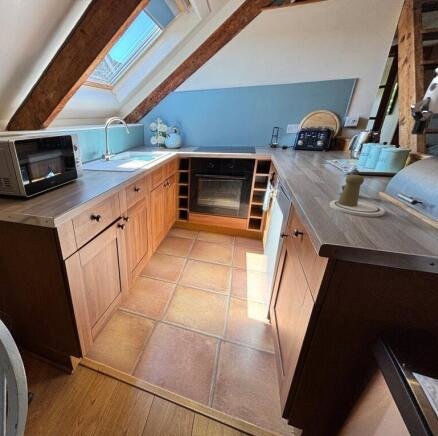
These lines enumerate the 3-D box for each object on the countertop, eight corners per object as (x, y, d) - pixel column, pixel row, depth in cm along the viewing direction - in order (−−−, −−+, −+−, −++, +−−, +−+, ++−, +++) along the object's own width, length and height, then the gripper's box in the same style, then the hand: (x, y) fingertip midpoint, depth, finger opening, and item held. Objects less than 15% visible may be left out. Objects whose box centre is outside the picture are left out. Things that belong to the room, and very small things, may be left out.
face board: (350, 200, 100) (351, 197, 99) (396, 213, 86) (397, 210, 85) (319, 204, 96) (320, 201, 96) (361, 218, 82) (362, 215, 82)
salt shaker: (344, 196, 104) (352, 168, 100) (336, 192, 110) (344, 166, 105) (359, 197, 103) (368, 169, 99) (351, 193, 109) (359, 166, 104)
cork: (338, 200, 96) (347, 173, 92) (358, 203, 92) (367, 175, 88) (335, 204, 92) (344, 175, 88) (355, 207, 88) (365, 178, 84)
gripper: (436, 69, 67) (414, 135, 73) (508, 65, 65) (479, 133, 71) (411, 74, 74) (393, 134, 80) (476, 71, 72) (451, 132, 78)
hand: (433, 133), depth 76 cm, fingers open, 9 cm apart
